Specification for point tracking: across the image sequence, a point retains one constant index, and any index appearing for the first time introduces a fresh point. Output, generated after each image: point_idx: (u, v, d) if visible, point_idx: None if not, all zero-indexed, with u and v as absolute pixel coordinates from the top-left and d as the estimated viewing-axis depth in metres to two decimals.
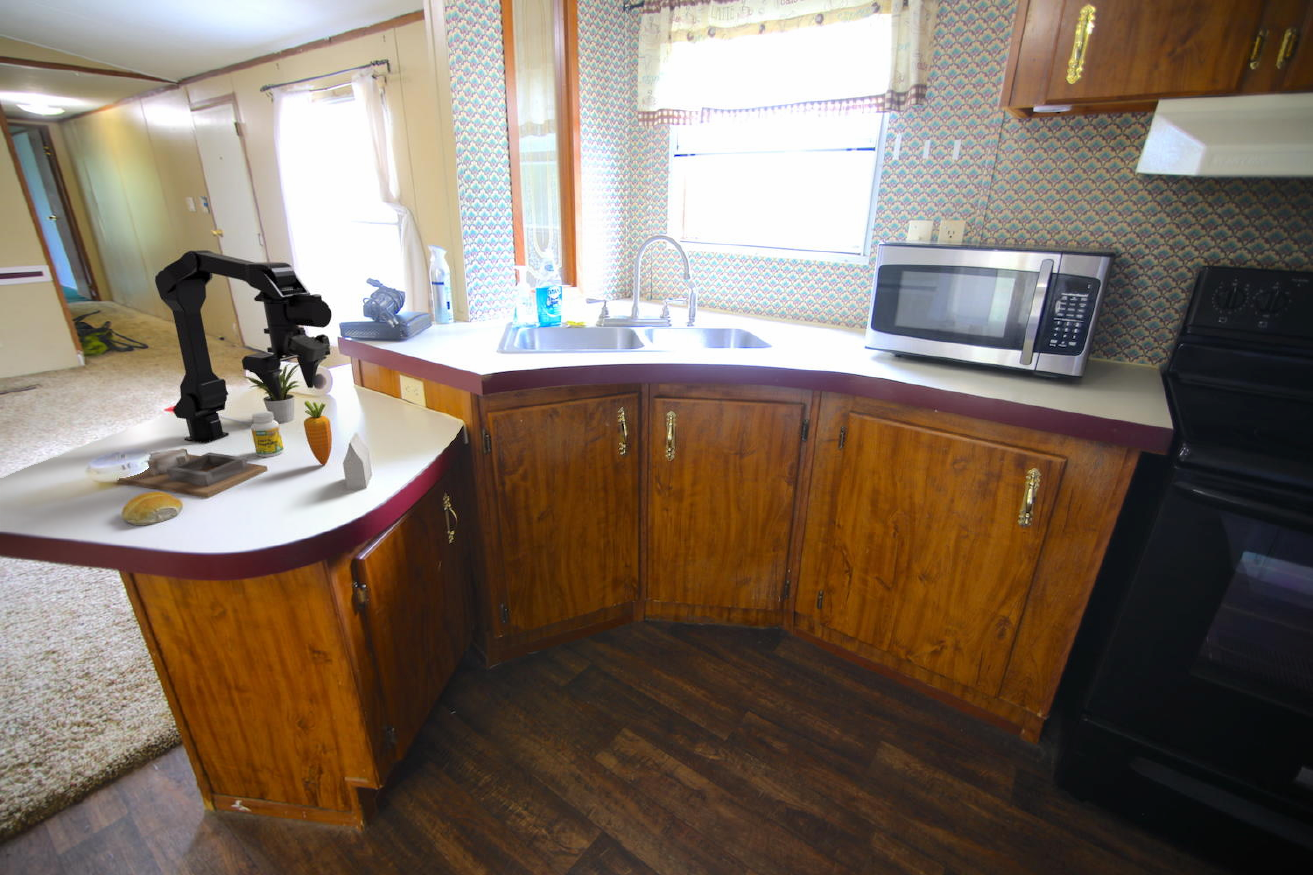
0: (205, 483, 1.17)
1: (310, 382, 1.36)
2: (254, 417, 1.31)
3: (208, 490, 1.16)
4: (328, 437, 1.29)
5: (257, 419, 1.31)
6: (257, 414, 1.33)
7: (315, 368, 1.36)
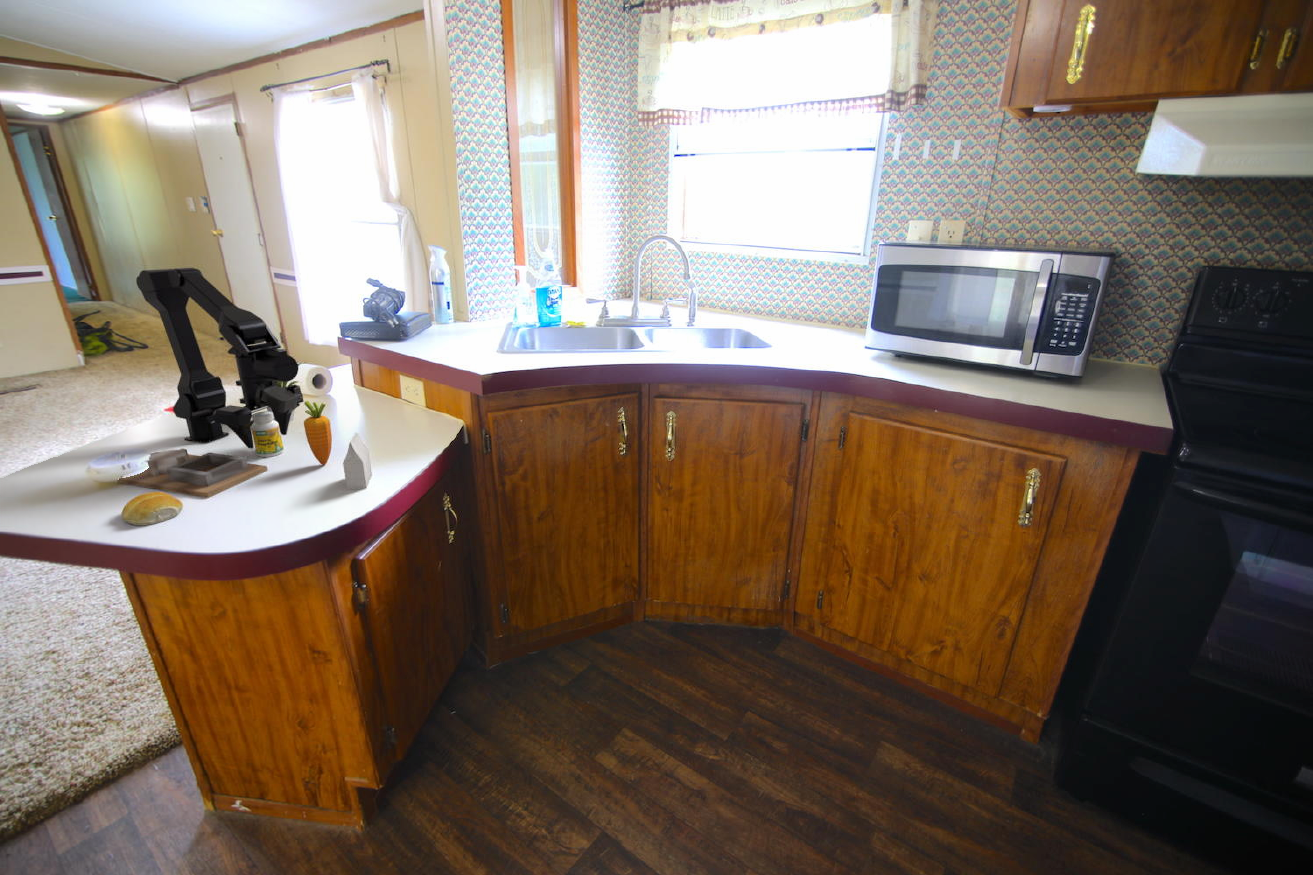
0: (205, 483, 1.17)
1: (283, 429, 1.39)
2: (254, 417, 1.31)
3: (208, 490, 1.16)
4: (328, 437, 1.29)
5: (257, 419, 1.31)
6: (257, 414, 1.33)
7: (288, 416, 1.39)
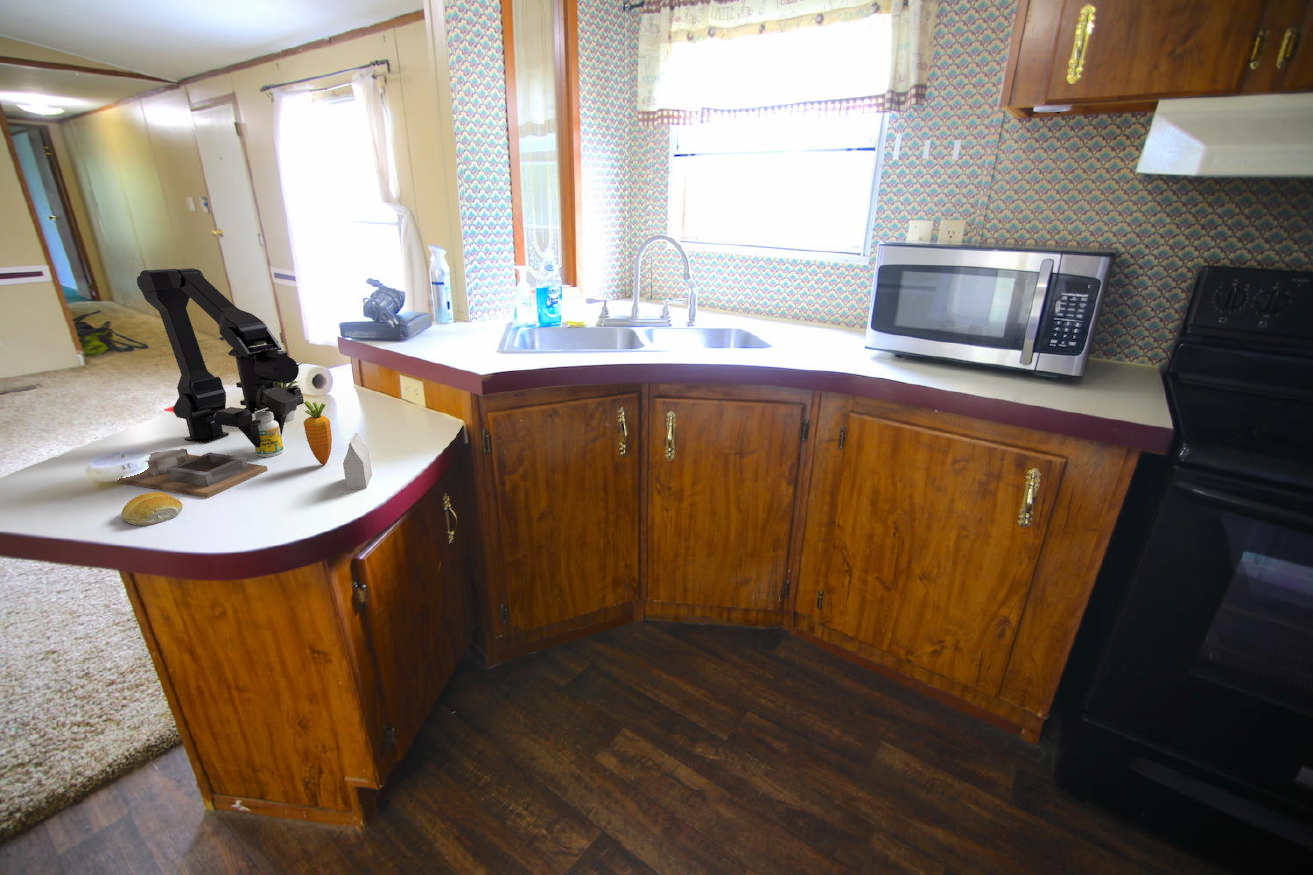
0: (205, 483, 1.17)
1: None
2: None
3: (208, 490, 1.16)
4: (328, 437, 1.29)
5: (257, 419, 1.31)
6: (257, 414, 1.33)
7: (282, 419, 1.37)
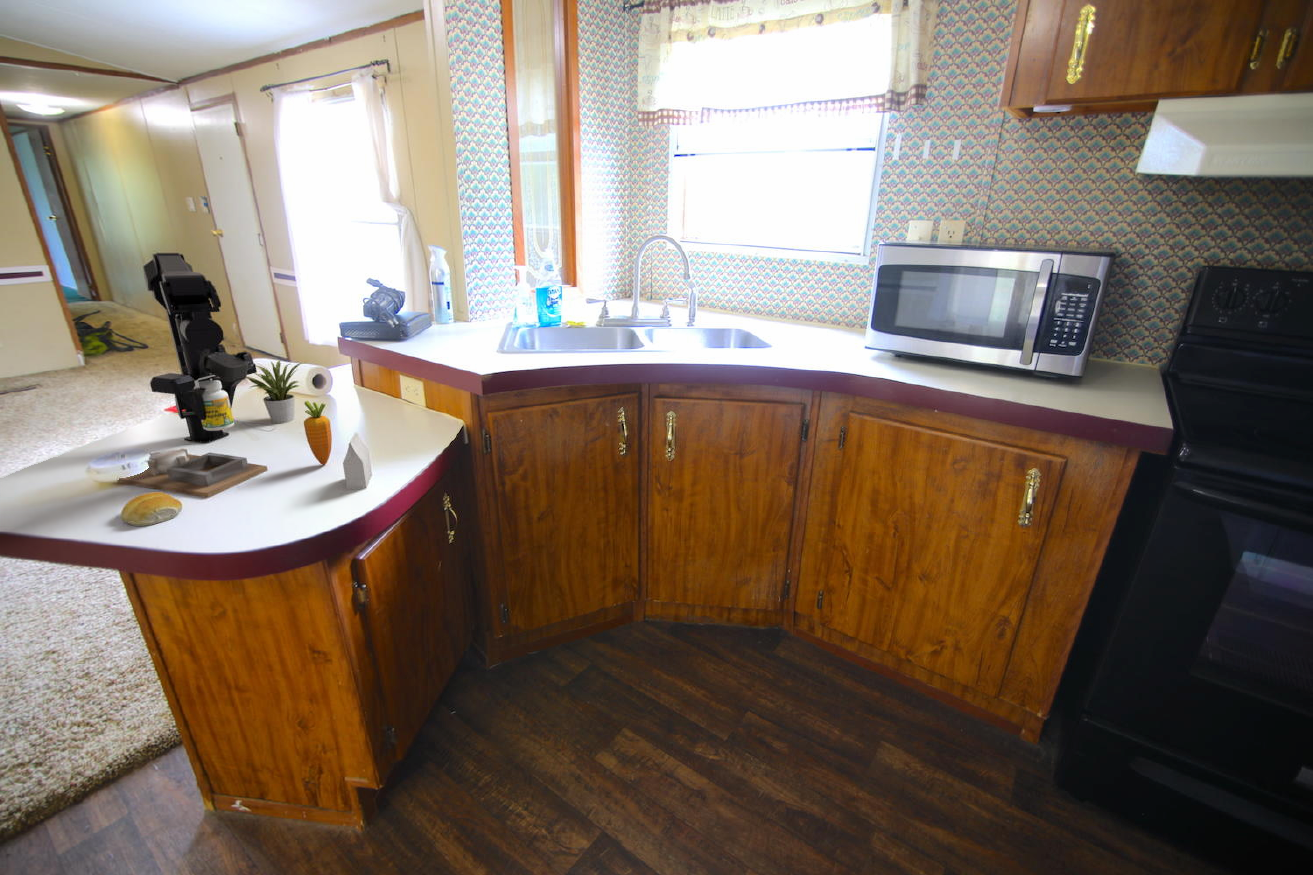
0: (205, 483, 1.17)
1: None
2: (199, 385, 1.18)
3: (208, 490, 1.16)
4: (328, 437, 1.29)
5: None
6: (202, 382, 1.19)
7: (232, 390, 1.23)
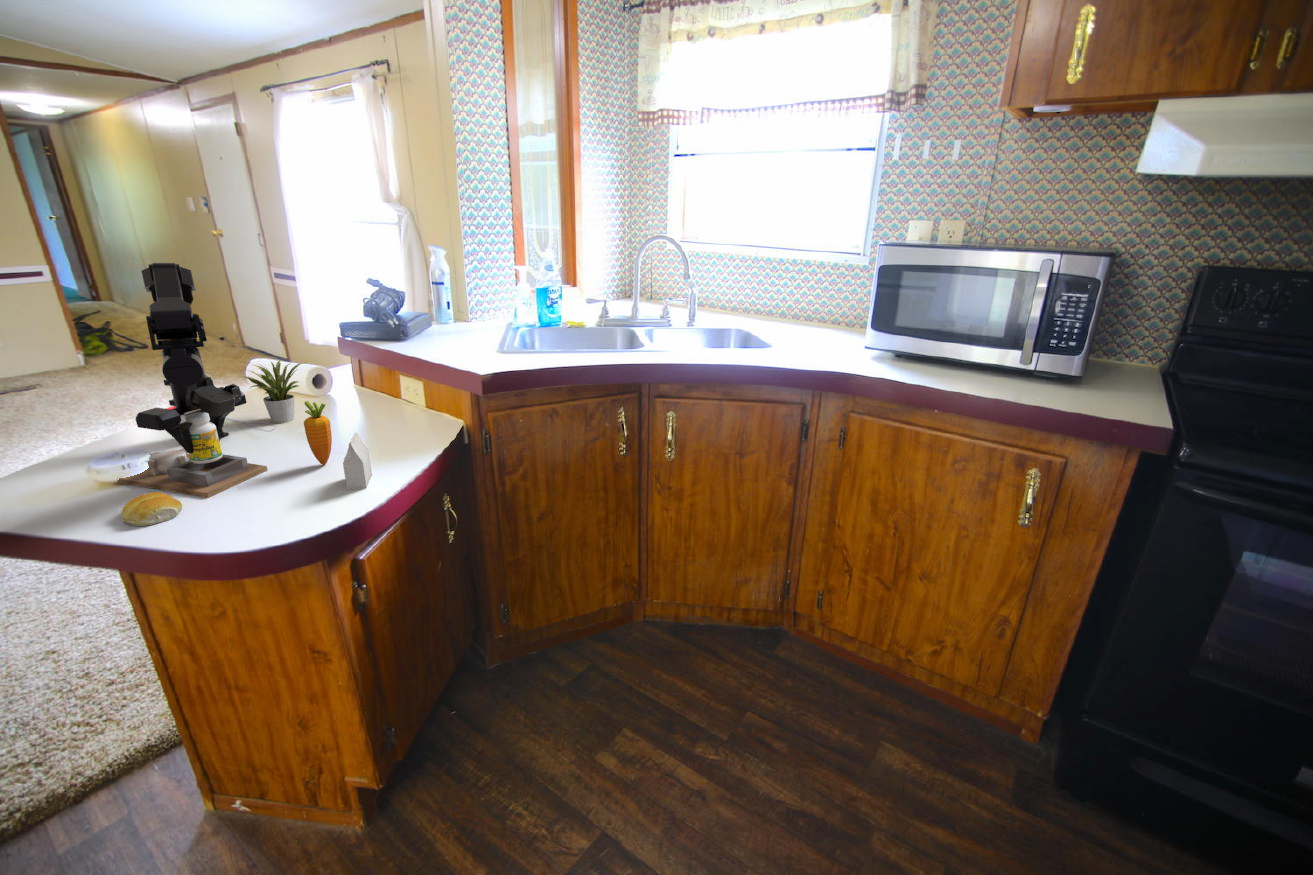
0: (205, 483, 1.17)
1: None
2: (186, 419, 1.16)
3: (208, 490, 1.16)
4: (328, 437, 1.29)
5: (189, 421, 1.16)
6: (190, 415, 1.18)
7: (221, 421, 1.22)
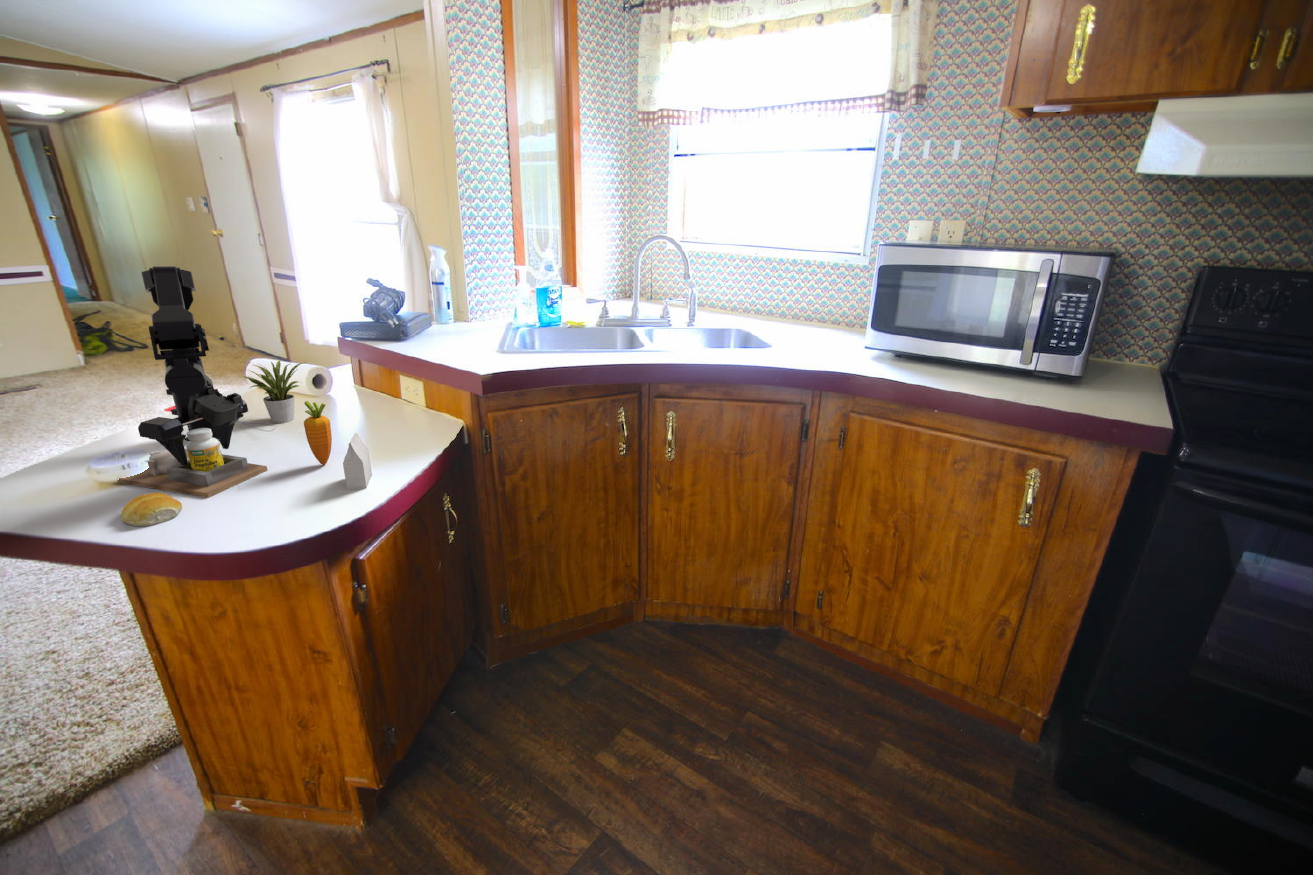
0: (205, 483, 1.17)
1: (225, 443, 1.25)
2: (189, 435, 1.17)
3: (208, 490, 1.16)
4: (328, 437, 1.29)
5: (192, 437, 1.17)
6: (193, 431, 1.19)
7: (230, 428, 1.24)
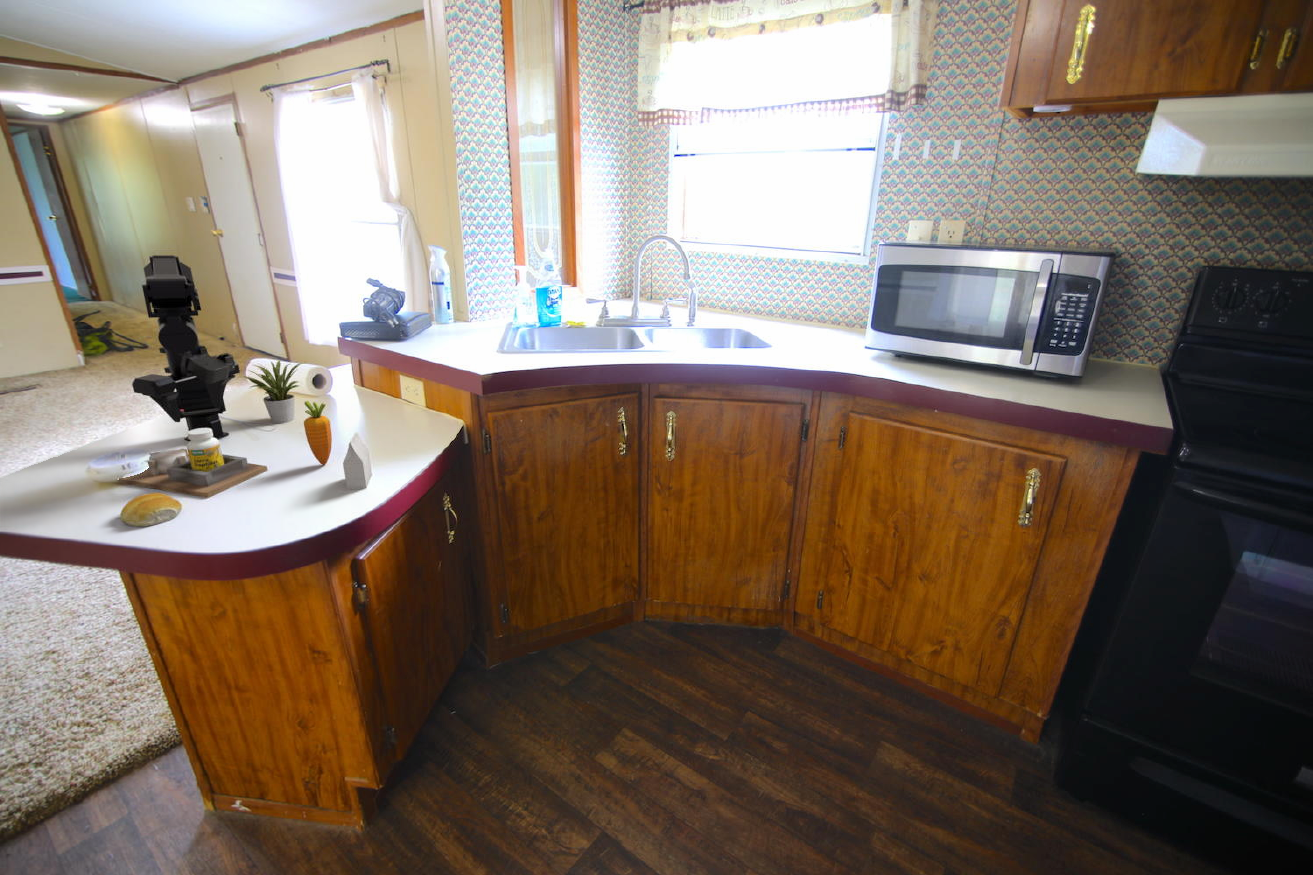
0: (205, 483, 1.17)
1: (217, 402, 1.28)
2: (189, 435, 1.17)
3: (208, 490, 1.16)
4: (328, 437, 1.29)
5: (193, 437, 1.17)
6: (193, 431, 1.19)
7: (222, 388, 1.27)
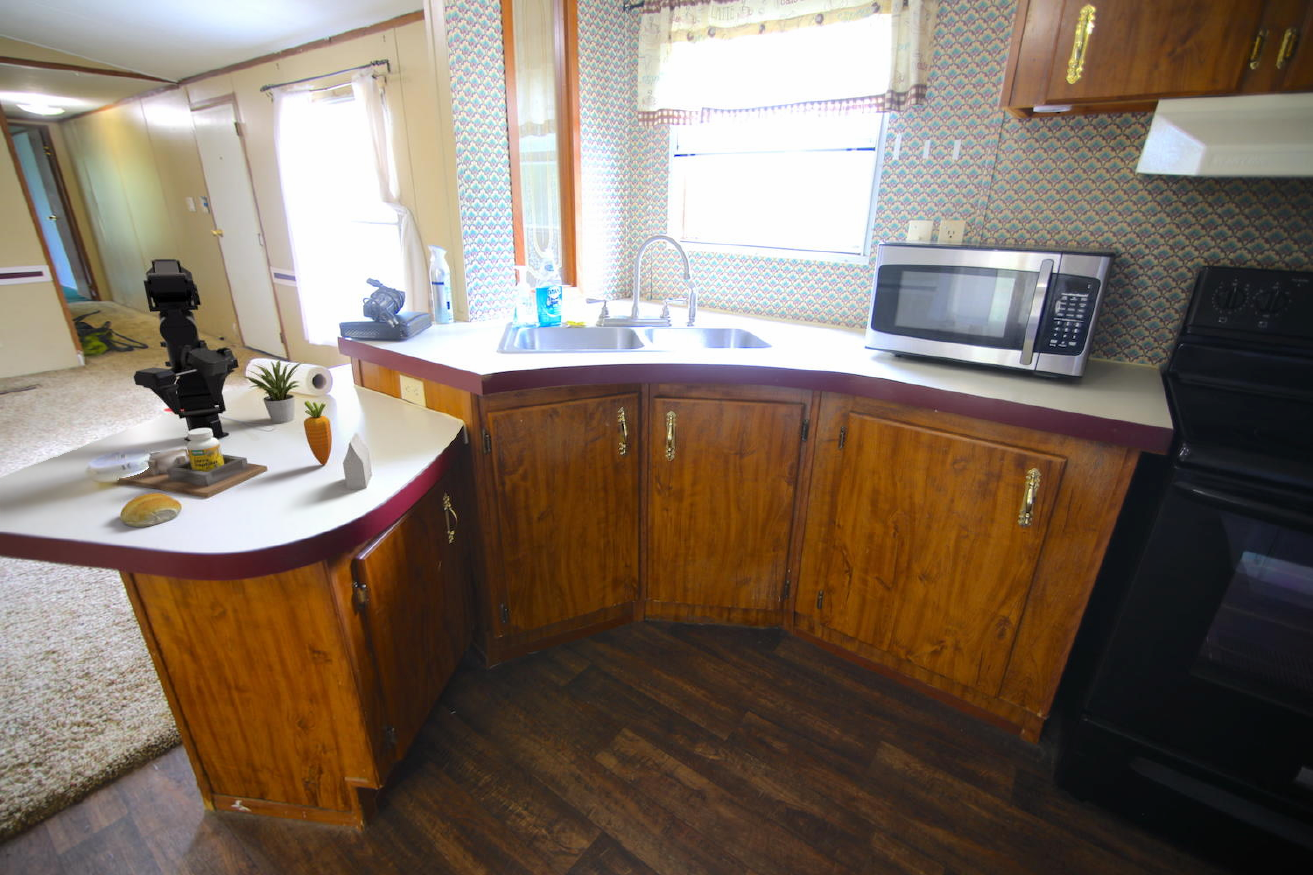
0: (205, 483, 1.17)
1: (217, 396, 1.31)
2: (189, 435, 1.17)
3: (208, 490, 1.16)
4: (328, 437, 1.29)
5: (193, 437, 1.17)
6: (193, 431, 1.19)
7: (221, 382, 1.31)
